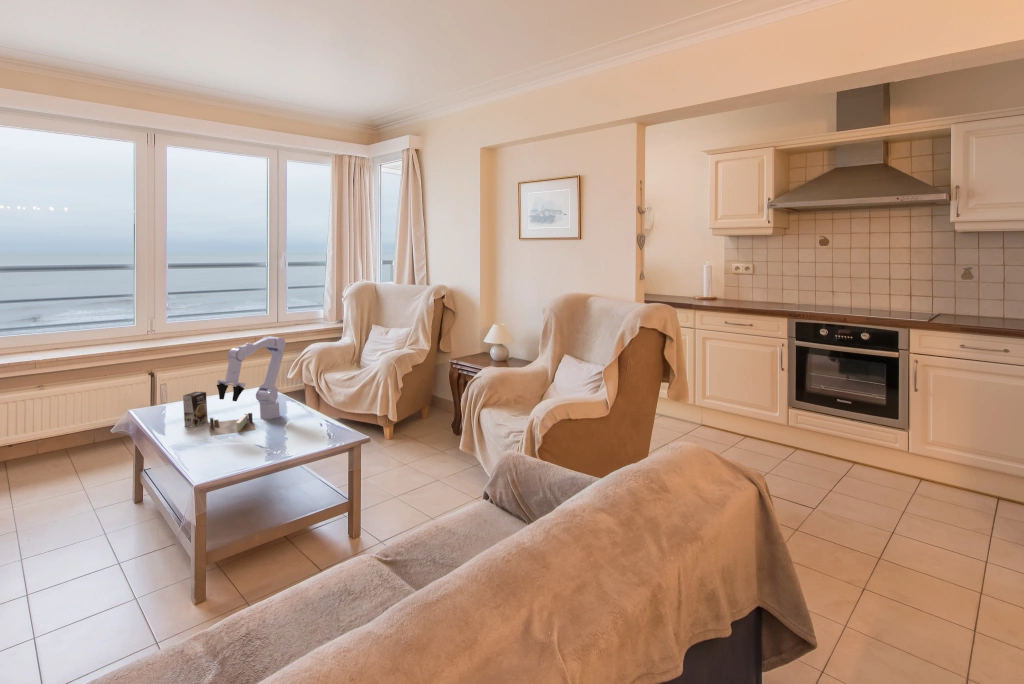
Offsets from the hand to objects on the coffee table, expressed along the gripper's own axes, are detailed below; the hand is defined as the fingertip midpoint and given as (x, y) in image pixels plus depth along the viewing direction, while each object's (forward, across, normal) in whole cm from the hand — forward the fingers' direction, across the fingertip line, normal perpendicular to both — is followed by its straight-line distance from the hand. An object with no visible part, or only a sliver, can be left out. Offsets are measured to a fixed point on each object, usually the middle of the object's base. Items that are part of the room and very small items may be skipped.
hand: (227, 400), depth 271 cm
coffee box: (+15, -24, +10) cm, 30 cm away
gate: (+12, +2, +11) cm, 17 cm away
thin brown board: (+14, -4, +11) cm, 18 cm away
